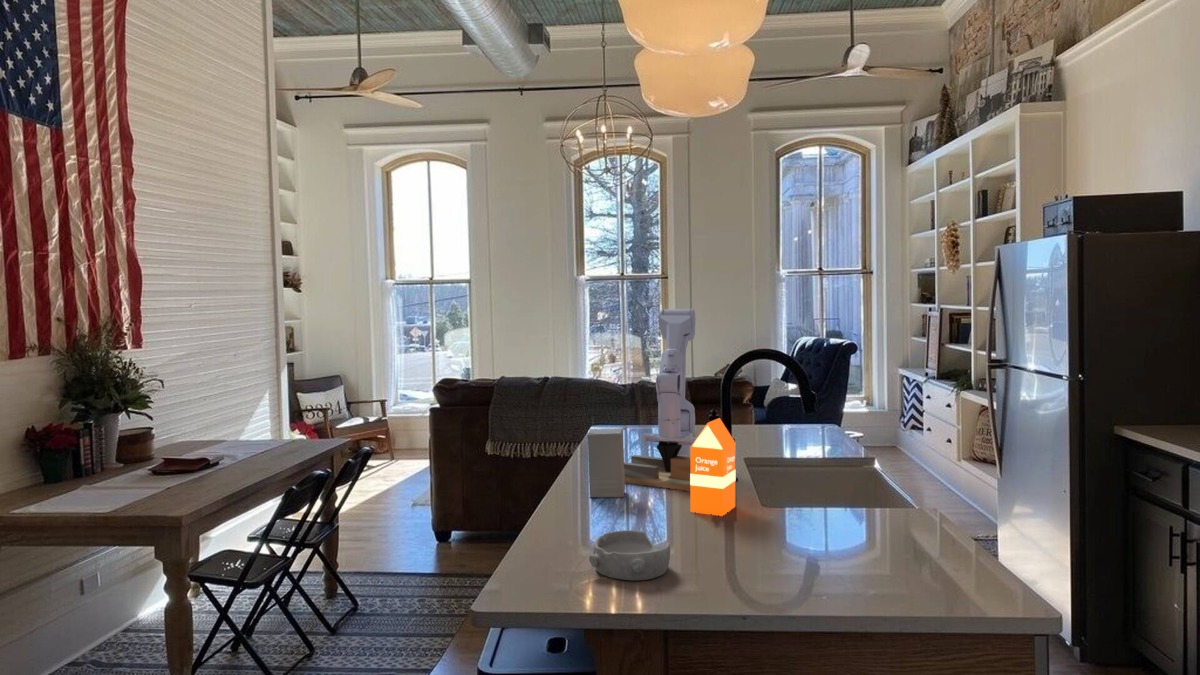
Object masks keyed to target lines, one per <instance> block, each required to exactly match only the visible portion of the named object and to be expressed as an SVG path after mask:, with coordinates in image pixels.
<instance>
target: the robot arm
mask: <svg viewBox="0 0 1200 675" xmlns="http://www.w3.org/2000/svg"><path fill="white" fill-rule="evenodd" d="M658 328H659V330H660V334H661V337H662V339H663V340H665V341H666V349H665V350H664V351H663V352H662V353H661V357H660V366H659V374H656V377H655V378H656V379H655V389H656V399H657V400H656V401H657V403H658V404H657V406H658V407H657V408H658V409H657V410H658V412H657V415H658V416H657V419H658V420H657V425H658V429H657V433H652V432H645V433H642V442H651V443H652V442H653V443H658V444H657V445H656V449H657V450H658V452H659V455H660V456H661V457H660V458H662V459H663V462H664V466H665V471H666V472H671V458H674V457H676V456H678V455H689V456H691V446H692V445H693V443H694V442H695V441H696V439H697V438H698V437H693V435H692V434H694V432H695V430H696V413H695V412H696V411H695V410H696V409H695V407H694V404H693V403H691V402H690V401H688V400H687V399H686V376H687V375H686V371H687V370H686V368H687V367H686V366H687V346H688V343H689V341H692V340H693V339H695V335H696V311H695V309H694V308H685V309H683V308H680V309H679V308H675V309H674V308H670V309H669V308H668V309H666V308H660V310H659V313H658Z"/></svg>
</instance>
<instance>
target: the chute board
mask: <svg viewBox="0 0 1200 675" xmlns="http://www.w3.org/2000/svg"><path fill="white" fill-rule="evenodd" d="M630 458H631V460H630V462H625V461H624V475H625V484H632V485H639V486H645V485H647V486H646V487H653V486H655V487H654V488H660V487H662V488H661V489H668V488H670V490H675V489H677V491H683V490H686V491H685V492H690V480H689V481H688V480H680V479H672V478H671V472H666V471H665V466H664V462H663V459H662V457H656V456H648V455H647V456H646V455H636V454H634V455H631V457H630Z"/></svg>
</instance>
